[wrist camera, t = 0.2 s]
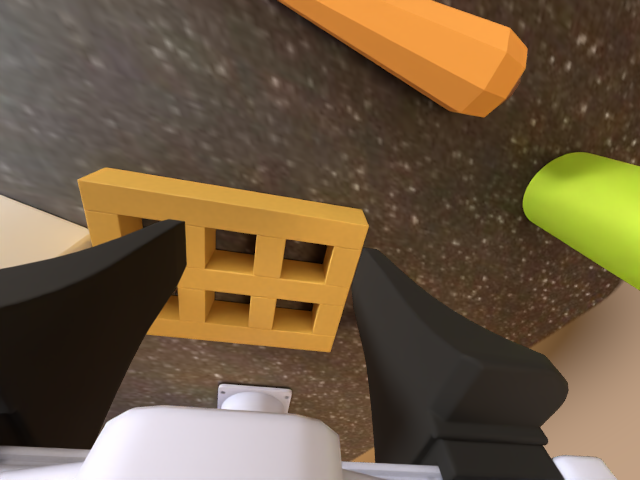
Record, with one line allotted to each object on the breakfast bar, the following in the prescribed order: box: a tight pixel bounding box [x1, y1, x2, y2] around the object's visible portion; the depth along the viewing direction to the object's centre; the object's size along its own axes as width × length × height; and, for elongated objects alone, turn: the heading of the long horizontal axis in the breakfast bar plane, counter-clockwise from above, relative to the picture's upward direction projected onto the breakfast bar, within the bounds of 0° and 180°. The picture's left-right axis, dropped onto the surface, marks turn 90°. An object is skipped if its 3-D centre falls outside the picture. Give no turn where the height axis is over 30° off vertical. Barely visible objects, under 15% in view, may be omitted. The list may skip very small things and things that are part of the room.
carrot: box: [277, 0, 527, 117], centre depth 15 cm, size 20×4×4 cm, turn 68°
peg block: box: [78, 167, 369, 352], centre depth 22 cm, size 13×18×3 cm
